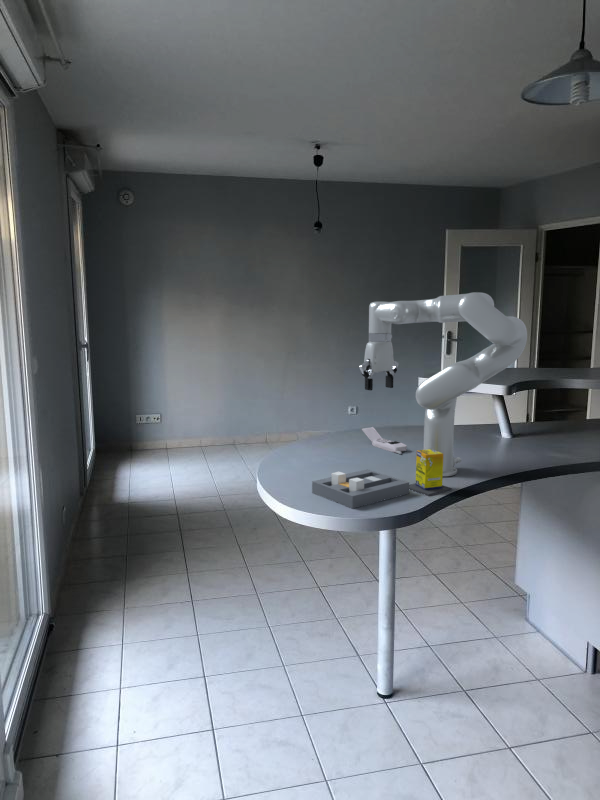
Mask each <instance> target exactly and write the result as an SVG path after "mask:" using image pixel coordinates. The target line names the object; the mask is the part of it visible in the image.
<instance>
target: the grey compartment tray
mask: <svg viewBox="0 0 600 800" xmlns="http://www.w3.org/2000/svg"><path fill="white" fill-rule="evenodd" d="M345 474H346V482H344V483H339V484H336V485H331V483H332V476H330V477H326V478H321V479H317V480H313V481H311V493H312V494H314V495H317V496H319V497H322V498H324V499H327V500H329V499H330V500H329V501H332V500H333V501H332V502H334V501H335V503H337V502H338V504H339V503H340V505H342V506H344V505H345V507H347V508H349V509H353V510H354V509H355V508H356V507H357V508H359V506H361V507H364V506H367V505H366V504H368V505H371V504H370V503H372V504H374V503H373V502H376V503H378V502H377V501H380V502H382V501H381V500H384V499H387V500H390V499H389V498H391V499H394V498H393V497H395V498H397V497H396V496H399V497H401V496H400V495H403V496H405V495H404V494H407V495H409V494H410V490H409V485H410V482H409V481H406V480H404V479H399V478H397V477H393V476H390V475H387V474H383V473H380V472H377V471H374V470H371V469H363V470H359V471H354V472H350V473H345ZM353 478H360V479H363V480H364V489H361V490H357V491H353V492H349V479H353ZM408 493H409V494H408ZM384 501H385V500H384ZM363 505H364V506H363Z"/></svg>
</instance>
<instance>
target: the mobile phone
mask: <svg viewBox="0 0 600 800" xmlns="http://www.w3.org/2000/svg"><path fill="white" fill-rule="evenodd" d="M361 431H362V432H363V433H364V434H365V435H366V436H367V438H368V439H369V440H370V442H371V444H372V446H373V447H375V448H379V449H381V450H384V451H387V452H391V453H396V454H399V455H400V454H401V455H402V452H405V451H407V448H408V447H407V444H405V443H402V442H400V441H398V440H395V441H394V440H390V439H386V438H383V437H382V436H381V435H380V434H379V432H378V431H377V430H376V428H375V427H374V426H372V427H365V428H364V427H363V428H361Z"/></svg>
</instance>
